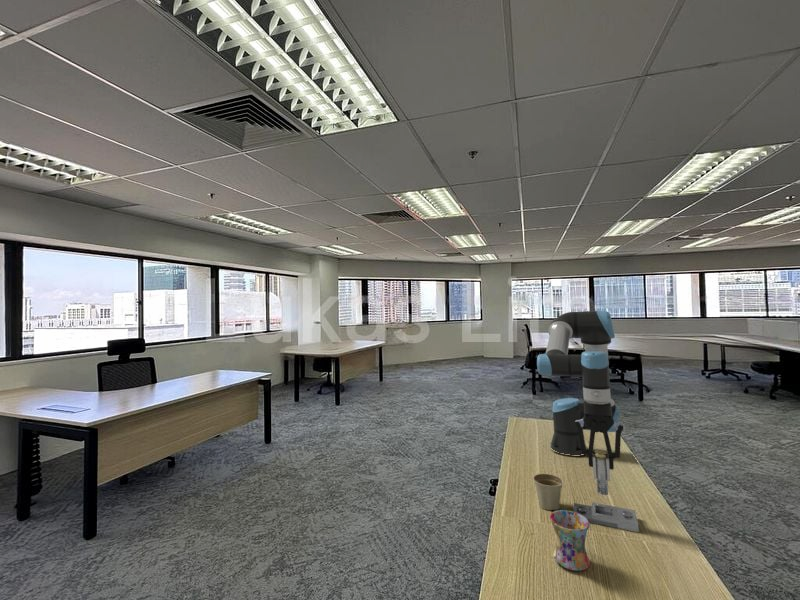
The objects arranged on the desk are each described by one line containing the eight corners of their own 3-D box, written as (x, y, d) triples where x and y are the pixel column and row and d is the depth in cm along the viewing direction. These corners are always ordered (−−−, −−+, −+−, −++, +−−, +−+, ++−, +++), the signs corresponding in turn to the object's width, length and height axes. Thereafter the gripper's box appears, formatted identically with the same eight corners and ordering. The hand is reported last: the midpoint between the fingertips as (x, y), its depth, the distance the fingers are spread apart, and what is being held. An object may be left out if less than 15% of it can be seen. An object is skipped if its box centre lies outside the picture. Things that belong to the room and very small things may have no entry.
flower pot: (563, 500, 123) (562, 474, 123) (566, 515, 114) (564, 487, 114) (533, 497, 126) (532, 472, 126) (534, 511, 117) (533, 484, 117)
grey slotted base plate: (574, 506, 119) (573, 497, 119) (635, 518, 111) (634, 508, 111) (573, 519, 112) (572, 509, 112) (638, 532, 104) (638, 521, 104)
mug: (596, 577, 87) (593, 532, 88) (555, 572, 89) (552, 528, 90) (584, 546, 99) (581, 506, 99) (547, 542, 101) (545, 503, 101)
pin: (595, 488, 114) (593, 449, 115) (609, 491, 112) (607, 451, 113) (595, 494, 111) (593, 453, 111) (610, 496, 109) (607, 455, 110)
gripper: (568, 401, 113) (572, 478, 112) (628, 406, 106) (633, 488, 105) (569, 397, 120) (573, 469, 119) (626, 400, 113) (631, 478, 111)
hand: (601, 478), depth 112 cm, fingers closed on pin, 3 cm apart
